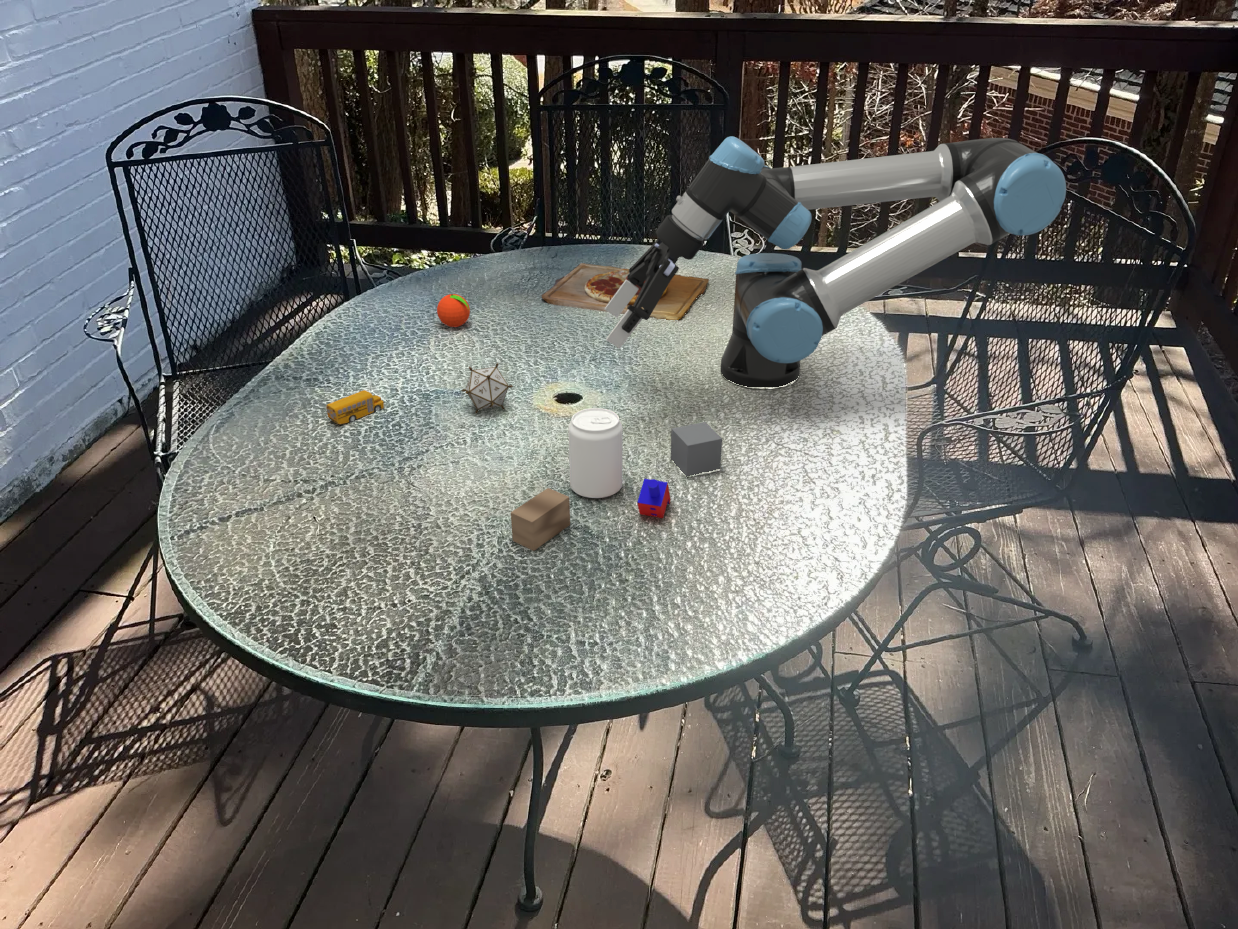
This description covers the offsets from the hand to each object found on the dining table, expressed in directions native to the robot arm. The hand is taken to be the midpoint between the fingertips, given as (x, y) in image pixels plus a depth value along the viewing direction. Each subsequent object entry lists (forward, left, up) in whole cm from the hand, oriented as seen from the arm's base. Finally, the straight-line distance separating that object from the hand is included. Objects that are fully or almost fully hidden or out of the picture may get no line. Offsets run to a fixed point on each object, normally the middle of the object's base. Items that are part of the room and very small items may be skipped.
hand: (611, 327), depth 160 cm
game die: (+22, -1, -16) cm, 27 cm away
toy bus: (+45, +1, -16) cm, 48 cm away
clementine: (+32, -39, -16) cm, 53 cm away
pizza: (-5, -58, -16) cm, 60 cm away
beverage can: (+3, +26, -16) cm, 31 cm away
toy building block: (-5, +33, -16) cm, 37 cm away
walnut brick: (+11, +38, -16) cm, 43 cm away
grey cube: (-13, +20, -15) cm, 29 cm away
